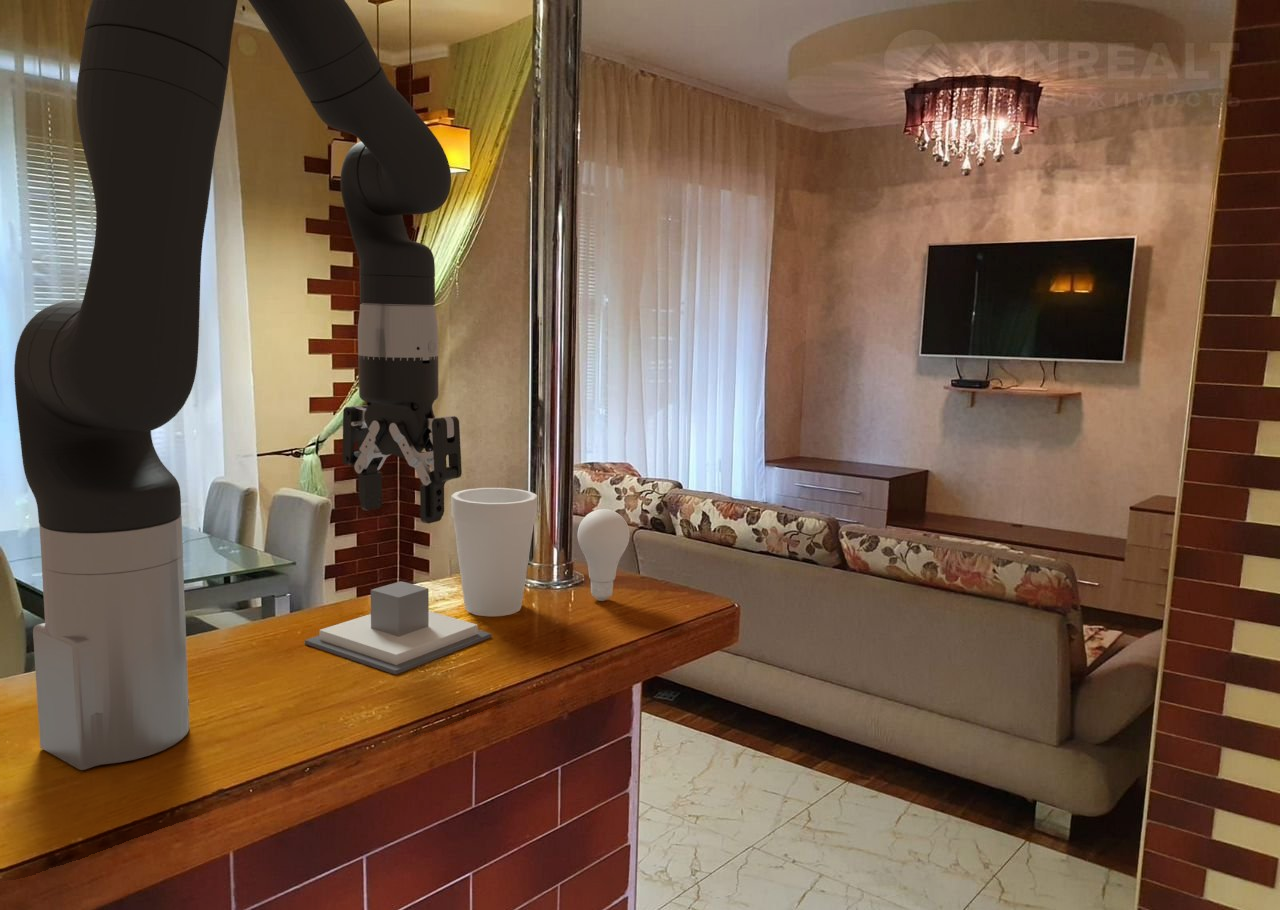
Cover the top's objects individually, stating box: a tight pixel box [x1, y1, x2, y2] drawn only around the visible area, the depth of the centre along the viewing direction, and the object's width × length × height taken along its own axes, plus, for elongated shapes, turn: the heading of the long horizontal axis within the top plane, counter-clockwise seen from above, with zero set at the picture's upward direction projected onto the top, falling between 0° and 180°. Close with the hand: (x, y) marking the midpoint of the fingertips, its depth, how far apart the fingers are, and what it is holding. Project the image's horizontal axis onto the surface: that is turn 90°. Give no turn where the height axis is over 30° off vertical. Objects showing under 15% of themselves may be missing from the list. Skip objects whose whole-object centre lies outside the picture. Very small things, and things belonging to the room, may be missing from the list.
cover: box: [318, 580, 479, 665], centre depth 95 cm, size 11×11×5 cm
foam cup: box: [450, 487, 538, 617], centre depth 106 cm, size 10×9×13 cm
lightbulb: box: [576, 508, 631, 602], centre depth 110 cm, size 6×6×11 cm
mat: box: [304, 629, 492, 676], centre depth 96 cm, size 13×13×1 cm
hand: (400, 515), depth 94 cm, fingers open, 8 cm apart
